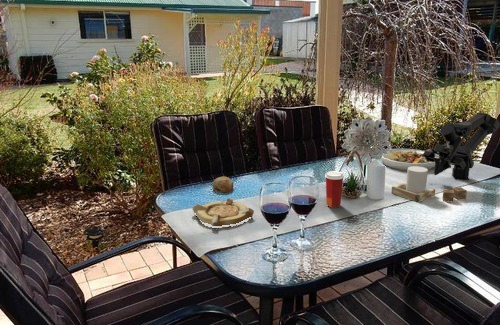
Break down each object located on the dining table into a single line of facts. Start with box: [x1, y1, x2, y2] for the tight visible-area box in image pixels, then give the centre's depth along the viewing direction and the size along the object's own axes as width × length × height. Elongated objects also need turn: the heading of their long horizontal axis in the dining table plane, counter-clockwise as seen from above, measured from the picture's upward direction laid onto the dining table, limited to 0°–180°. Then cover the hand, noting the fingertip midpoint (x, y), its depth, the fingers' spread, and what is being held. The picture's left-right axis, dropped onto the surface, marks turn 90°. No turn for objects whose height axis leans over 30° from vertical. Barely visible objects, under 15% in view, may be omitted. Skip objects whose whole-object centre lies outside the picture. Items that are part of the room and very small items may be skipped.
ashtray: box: [192, 197, 255, 226], centre depth 169 cm, size 24×24×5 cm
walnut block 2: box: [451, 186, 468, 201], centre depth 183 cm, size 4×4×4 cm
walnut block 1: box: [441, 188, 455, 203], centre depth 181 cm, size 4×4×4 cm
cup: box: [405, 166, 429, 194], centre depth 186 cm, size 8×8×12 cm
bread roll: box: [212, 176, 234, 193], centre depth 199 cm, size 10×10×8 cm
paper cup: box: [324, 170, 345, 208], centre depth 176 cm, size 8×8×14 cm
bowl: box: [380, 148, 435, 171], centre depth 232 cm, size 30×30×8 cm
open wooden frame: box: [391, 182, 436, 203], centre depth 188 cm, size 12×13×3 cm
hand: (434, 174), depth 195 cm, fingers closed
